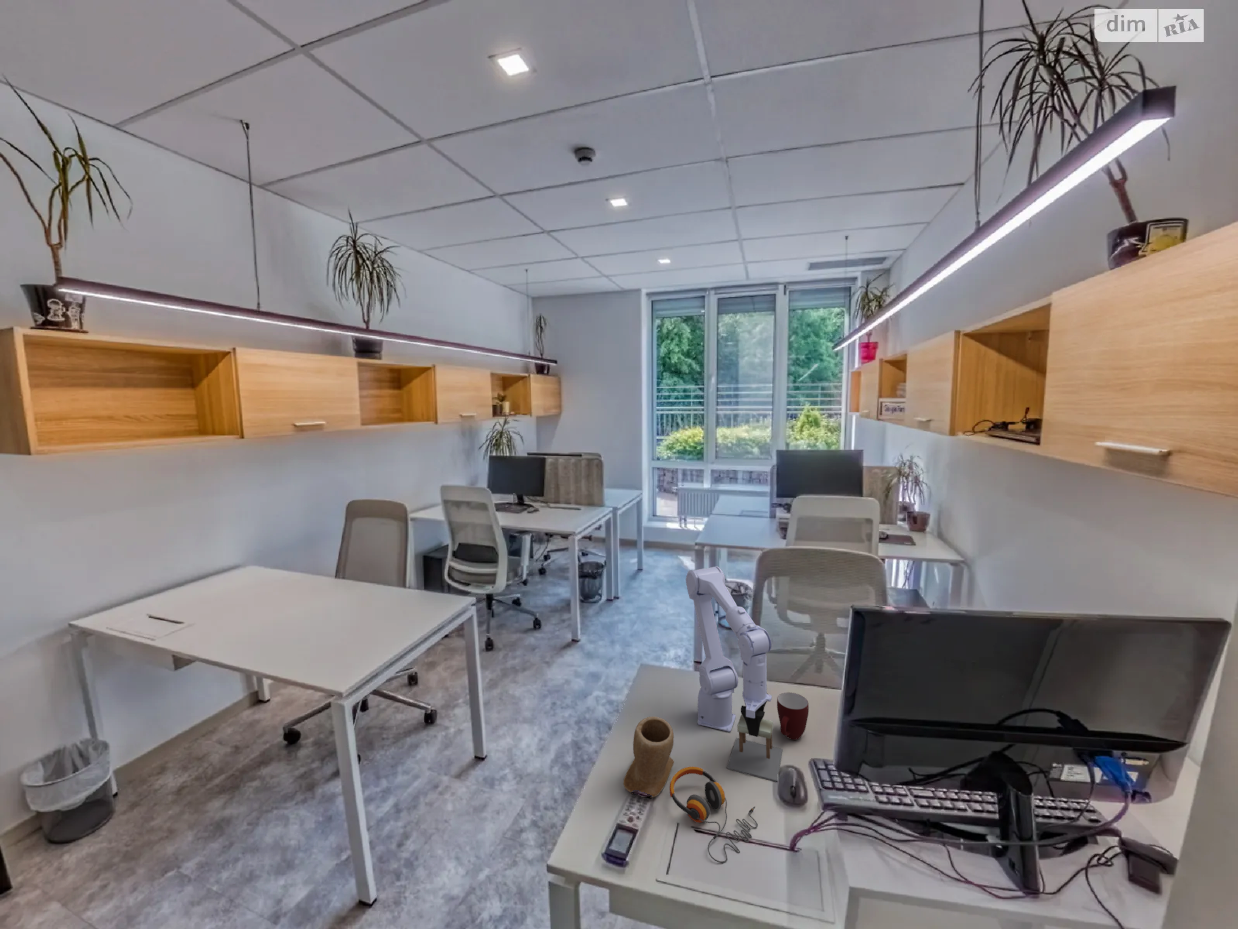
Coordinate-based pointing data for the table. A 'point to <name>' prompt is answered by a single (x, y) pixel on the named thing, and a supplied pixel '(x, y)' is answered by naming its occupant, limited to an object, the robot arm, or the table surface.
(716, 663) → the robot arm
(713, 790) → the headphones
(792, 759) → the table surface
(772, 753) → the mat
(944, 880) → the table surface
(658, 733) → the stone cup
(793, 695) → the mug
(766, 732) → the stool
